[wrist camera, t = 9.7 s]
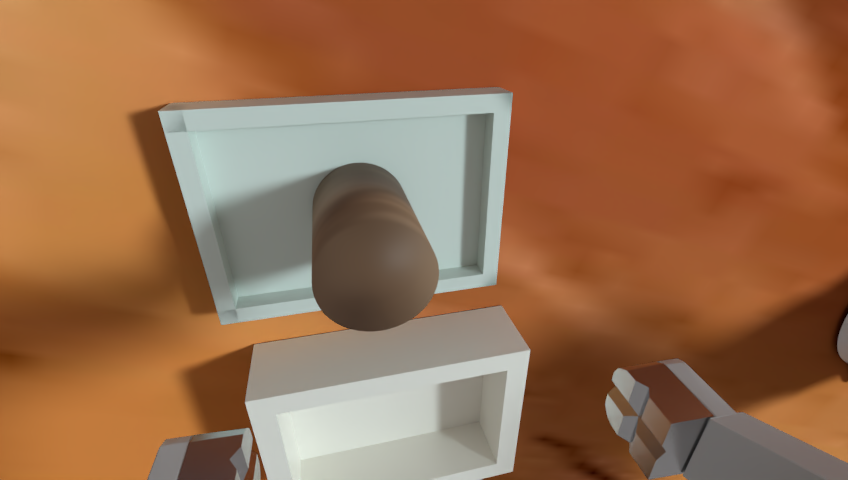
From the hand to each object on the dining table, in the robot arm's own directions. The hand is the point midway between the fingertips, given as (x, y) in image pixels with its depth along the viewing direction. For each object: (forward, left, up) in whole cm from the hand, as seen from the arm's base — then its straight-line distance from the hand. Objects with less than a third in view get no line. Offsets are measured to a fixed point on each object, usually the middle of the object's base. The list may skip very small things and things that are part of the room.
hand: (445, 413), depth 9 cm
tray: (+1, 0, -13) cm, 13 cm away
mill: (+1, +1, -13) cm, 13 cm away
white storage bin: (0, +13, -13) cm, 19 cm away
